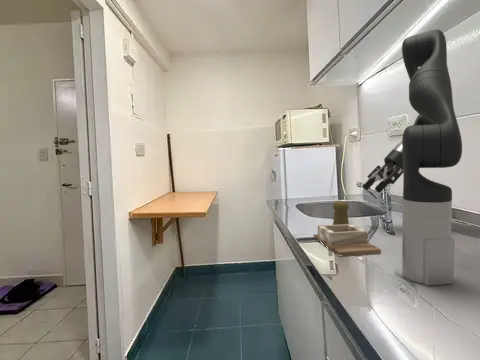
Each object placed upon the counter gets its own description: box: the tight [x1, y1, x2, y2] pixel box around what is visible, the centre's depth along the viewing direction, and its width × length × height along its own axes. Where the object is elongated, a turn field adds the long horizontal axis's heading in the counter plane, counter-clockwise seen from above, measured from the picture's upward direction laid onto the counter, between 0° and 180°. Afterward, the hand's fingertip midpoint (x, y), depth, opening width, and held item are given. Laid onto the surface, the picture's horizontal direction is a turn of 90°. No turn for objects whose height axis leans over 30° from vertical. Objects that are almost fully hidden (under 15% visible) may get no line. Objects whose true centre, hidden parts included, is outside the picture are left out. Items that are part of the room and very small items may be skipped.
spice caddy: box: [313, 223, 382, 257], centre depth 100 cm, size 20×12×5 cm, turn 7°
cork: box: [332, 200, 350, 225], centre depth 116 cm, size 6×6×11 cm
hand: (370, 189), depth 116 cm, fingers open, 8 cm apart
